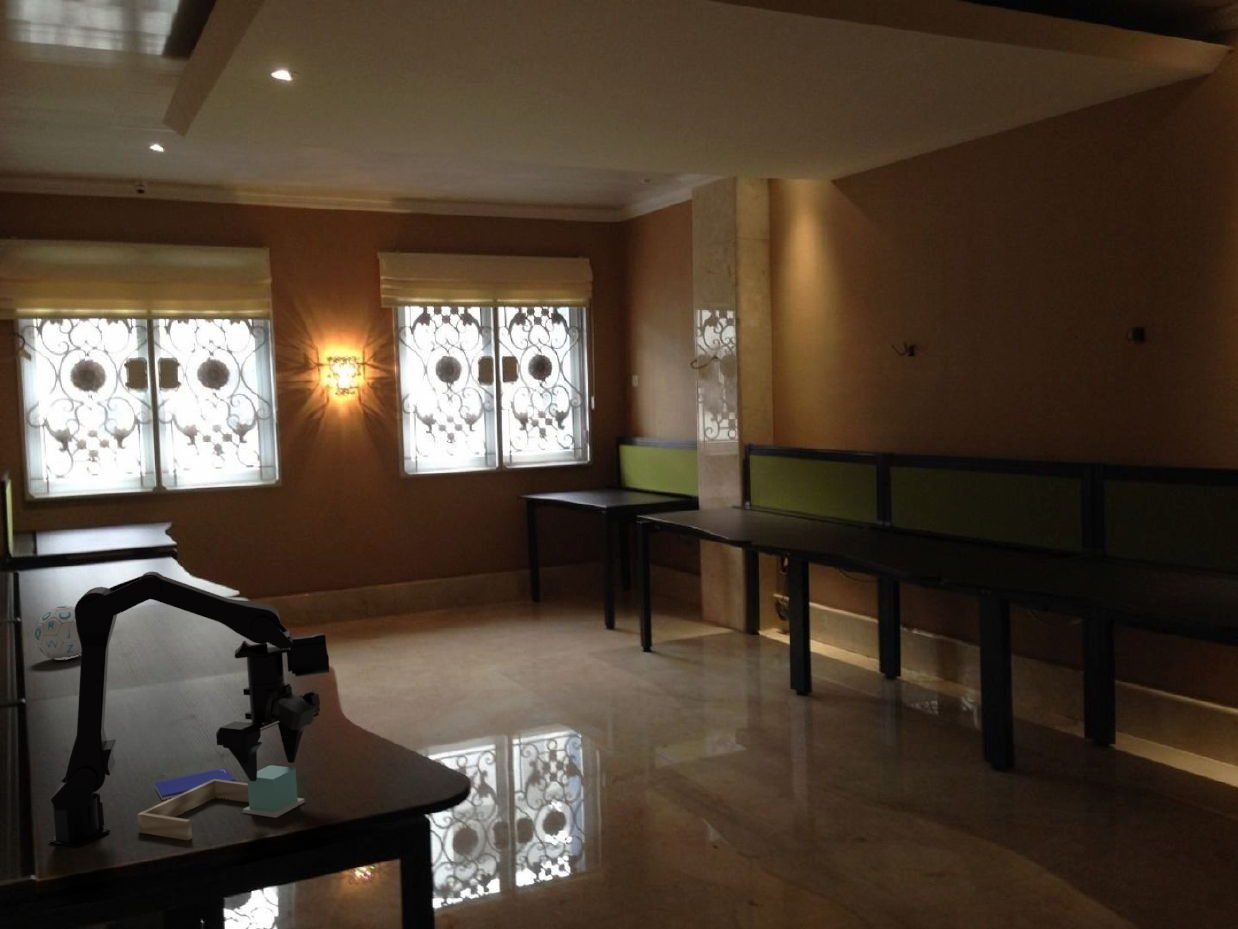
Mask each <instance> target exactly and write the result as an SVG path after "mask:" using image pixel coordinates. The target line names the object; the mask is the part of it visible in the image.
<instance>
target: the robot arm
mask: <svg viewBox="0 0 1238 929" xmlns="http://www.w3.org/2000/svg"><path fill="white" fill-rule="evenodd" d="M149 600H153V601H155V602H158V603H160V604H165V605H167V606H170V607H173V608H176V609H179V610H183V611H185V612H188V613H191V614H194V615H197V616H200V617H204V618H205V619H209V620H212V621H214V622H217V623H220V624H221V625H223V626H225V627H227V628H229V629H230V630H232V631H234V632H235V633H236V634H238V635H240V636H241V637H243V638H245V639H247V640H249V641H251V642H253V643H255V644H250V643H248V642H247V641H246V640H242V642H241V644H240V645H239V647H238V648H237V649H235V650H234V658H235V659H243V658H246V666H247V667H246V668H247V683H248V687H245V688H242V691H243V695H244V696H249V707H250V708H249V711H247V712H245V713H244V715H245V716H244V718H245V720H251V722H244V721H237V720H236V721H232V722H230V723H227V724H225V725H222V726H220V727H219V728H218V730H216V733H215V734H216V735H215V736H216V746H222V748H224V749H228V751H230V752H231V754H232V755H233V756H234V758H235V759H236V760H237V762H238V763H239V765H240V767H241V768H242V770H243V772H244V774H245V775H246V777H248V778H249V780H250V781H256V780H257V771H258V762H257V761H258V760H257V758H258V756H257V754H258V753H257V751H258V750H259V749H260V747H261V745H262V744H263V742H262V741H259V740H260V738H261V732H262V731H265V730H267V729H269V728H271V727H274V726H276V725H277V726H278V730H279V733H280V739H281V742H282V747H283V750H284V754H285V757H286V760H287V762H288V764H294V763H295V761H296V758H297V753H298V750H299V746H300V744H301V740H302V739H301V738H302V736H303V733H304V730H305V729H306V728H307V727H308V726H310V725H311V724H313V722H314V721H315V717H317V716H319V715H320V714H319V713H320V712H321V708H320V707H321V706H320V705H321V702H320V701H321V700H320V695H319V692H316V691H314V690H311V691H308V692H306V693H304V694H303V695H302V694H298V695H295V694H293V691H292V690H293V689H292V686H291V683H287V682H285V673H284V672H285V671H284V658H283V656H284V655H283V654H286V660H287V661H286V662H287V671H288V672H287V673H289V672H291V674H292V675H294V676H295V677H294V678H297V677H298V678H299V677H305V676H306V677H307V676H315V675H323V674H329V673H330V657H329V652H328V648H327V639H326V634H325V633H324V632H318V633H317V632H316V633H314V634H311V635H303V636H301V635H299V636H293V635H292V634H291V631H290V630H288V629H287V628H286V627H285V625H283V624H282V623H281V617H280V614H279V612H278V610H277V609H276V608H275V607H274V606H273V605H271V604H269V603H268V604H267V603H264V602H258V601H251V600H240V599H232V598H228V597H225V596H222V595H219V594H217V593H214V592H210V591H207V590H205V589H201V588H198V587H196V586H193V585H191V584H188V583H184V582H181V581H179V580H175V579H173V578H171V577H167V576H164V575H163V574H161V573H159V572H157V571H148V572H145V573H143V574H142V575H140V576H138V577H135V578H132V579H129V580H126V581H124V582H121V583H118V584H116V585H113V586H111V587H104V586H97V587H93V588H91V589H89V590H87V592H85V593H84V595H82V596H81V597H80V598H79V599H78V601H77V602H76V604H75V606H74V607H75V620H76V627H77V633H78V637H79V641H80V644H81V656H80V669H79V670H80V672H79V685H78V686H79V690H78V691H79V692H78V705H77V706H78V708H77V725H76V736H75V741H74V744H73V747H72V751H71V754H70V758H69V761H68V764H67V770H66V773H65V776H64V777H63V778H62V779H61V780H60V782H59V784H58V786H56V787H57V788H56V790H55V791H54V792H53V795H52V797H51V800H50V802H51V804H52V808H53V809H52V810H53V820H54V832H55V834H54V836H52V837H50V838H48V841H49V840H50V841H54V842H59V843H61V844H60V845H62V844H65V845H64V846H67V845H70V846H69V847H73V846H78V847H80V846H83V845H85V844H87V843H89V842H91V841H93V840H95V839H97V838H100V837H102V836H104V835H107V834H108V833H110V832H111V828H109V827H104V826H105V817H104V804H103V801H102V800H101V794H100V793H97V791H99V789H101V788H102V787H103V785H104V783H105V781H106V780H107V776H110V775H111V774H112V771H113V768H114V766H115V764H116V760H115V757H114V749H115V745H116V742H117V739H116V738H114V739H107V736H106V732H105V731H106V730H105V720H106V701H107V700H106V698H107V687H108V686H107V682H108V667H109V664H108V663H109V662H108V661H109V647H110V642H111V640H112V636H113V632H114V628H115V625H116V622H117V621H116V620H117V617H118V615H119V614H121V613H124V612H125V611H127V610H129V609H132V608H134V607H136V606H138V605H140V604H142V603H144V602H146V601H149ZM268 644H270V645H272V646H269V645H268ZM268 646H269V647H268ZM86 842H87V843H86Z"/></svg>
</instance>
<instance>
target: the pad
mask: <svg viewBox="0 0 1238 929" xmlns="http://www.w3.org/2000/svg"><path fill="white" fill-rule="evenodd" d="M305 802H306V801H305V798H301V797H298V800H297V801H295V802H293V803H291V804H289V805H287V806H285V807H284V808H282V809H280V810H278V811H276V812H272V811H265V810H258V809H251V808H249V806H246V807H244V808H243V809H242V812H243V813H244V814H248V815H249V814H250V815H257V816H264V817H269V818H275V819H276V818H278V817H281V816H282V815H283V814H286V813H287V812H290V811H291V810H292V809H294V808H297V807H298V805H299V806H300V805H302V804H304V803H305Z"/></svg>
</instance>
